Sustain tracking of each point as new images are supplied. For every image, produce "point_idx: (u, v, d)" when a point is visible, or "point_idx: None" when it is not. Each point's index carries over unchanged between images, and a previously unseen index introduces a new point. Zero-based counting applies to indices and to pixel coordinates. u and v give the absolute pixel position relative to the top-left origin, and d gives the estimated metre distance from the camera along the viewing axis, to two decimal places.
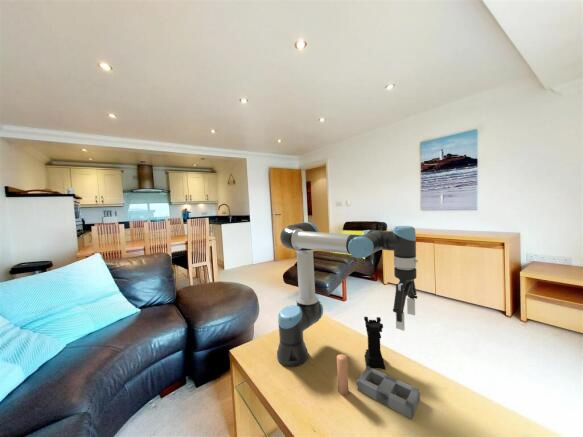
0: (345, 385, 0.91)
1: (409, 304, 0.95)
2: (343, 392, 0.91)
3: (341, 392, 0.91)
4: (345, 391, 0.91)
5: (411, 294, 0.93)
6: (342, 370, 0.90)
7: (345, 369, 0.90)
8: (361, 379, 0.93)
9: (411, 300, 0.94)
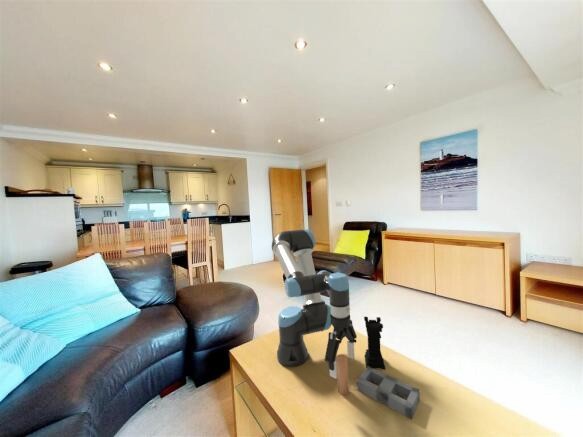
0: (345, 385, 0.91)
1: (349, 348, 0.97)
2: (343, 392, 0.91)
3: (341, 392, 0.91)
4: (345, 391, 0.91)
5: (349, 338, 0.95)
6: (342, 370, 0.90)
7: (345, 369, 0.90)
8: (361, 379, 0.93)
9: (350, 344, 0.96)
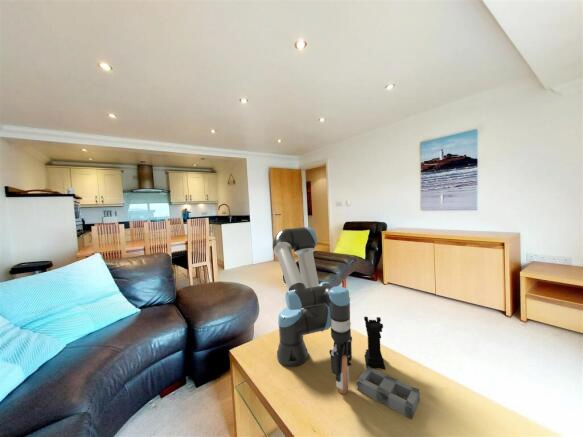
0: (345, 384, 0.91)
1: None
2: (343, 391, 0.91)
3: (341, 391, 0.91)
4: (344, 390, 0.91)
5: None
6: (342, 369, 0.90)
7: (345, 368, 0.91)
8: (361, 379, 0.93)
9: None
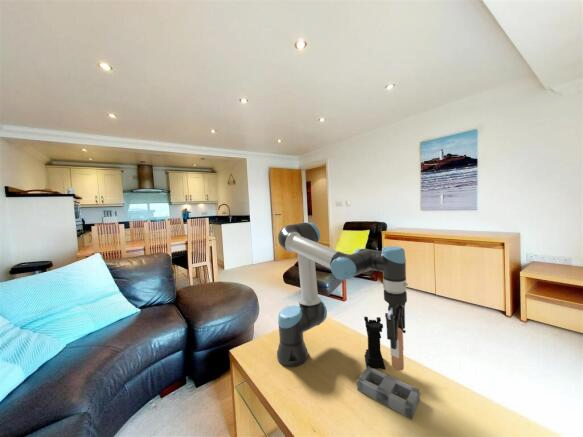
0: (401, 359, 0.83)
1: None
2: (399, 367, 0.84)
3: (396, 367, 0.84)
4: (400, 366, 0.83)
5: (399, 325, 0.86)
6: None
7: (401, 342, 0.83)
8: (361, 379, 0.93)
9: None
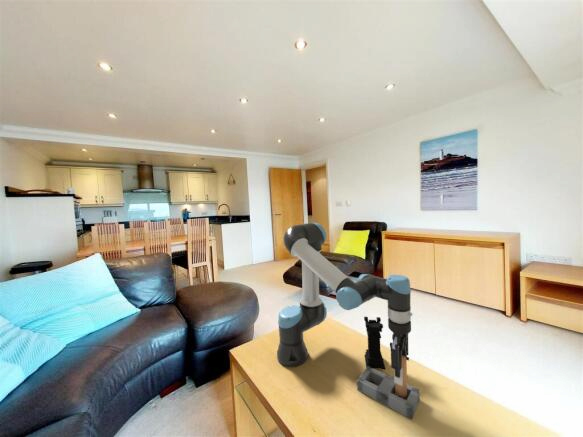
0: (404, 387, 0.84)
1: None
2: (402, 395, 0.84)
3: (400, 395, 0.85)
4: (404, 394, 0.84)
5: (403, 352, 0.87)
6: None
7: (405, 370, 0.84)
8: (361, 379, 0.93)
9: None
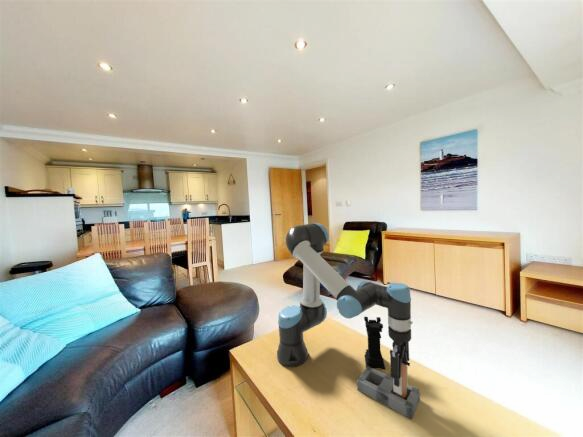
0: (404, 395, 0.85)
1: None
2: None
3: None
4: None
5: (404, 358, 0.87)
6: None
7: (405, 378, 0.84)
8: (361, 379, 0.93)
9: None
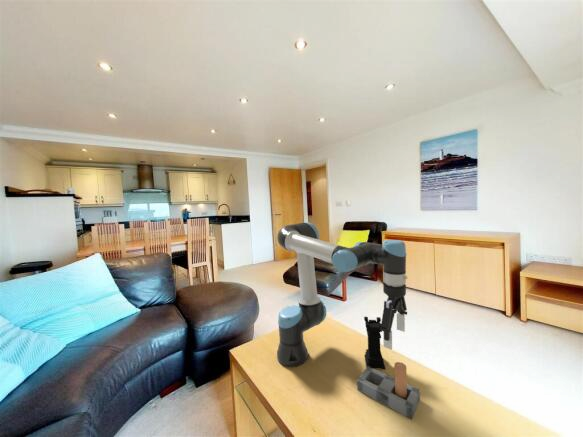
0: (404, 395, 0.85)
1: (399, 320, 0.91)
2: None
3: None
4: None
5: (401, 310, 0.90)
6: (402, 380, 0.84)
7: (405, 378, 0.84)
8: (361, 379, 0.93)
9: (401, 316, 0.91)
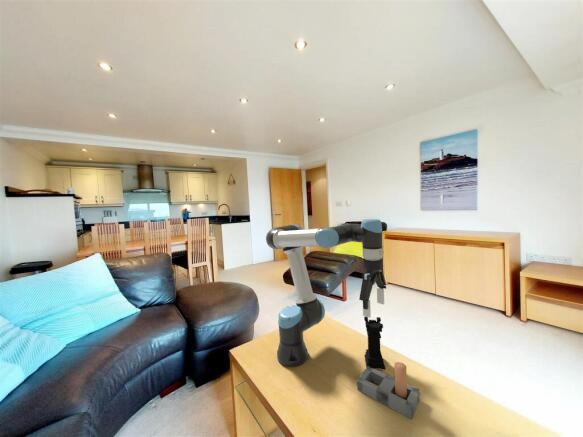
0: (404, 395, 0.85)
1: (378, 294, 0.99)
2: None
3: None
4: None
5: (380, 284, 0.98)
6: (402, 380, 0.84)
7: (405, 378, 0.84)
8: (361, 379, 0.93)
9: (380, 290, 0.99)
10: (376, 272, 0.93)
